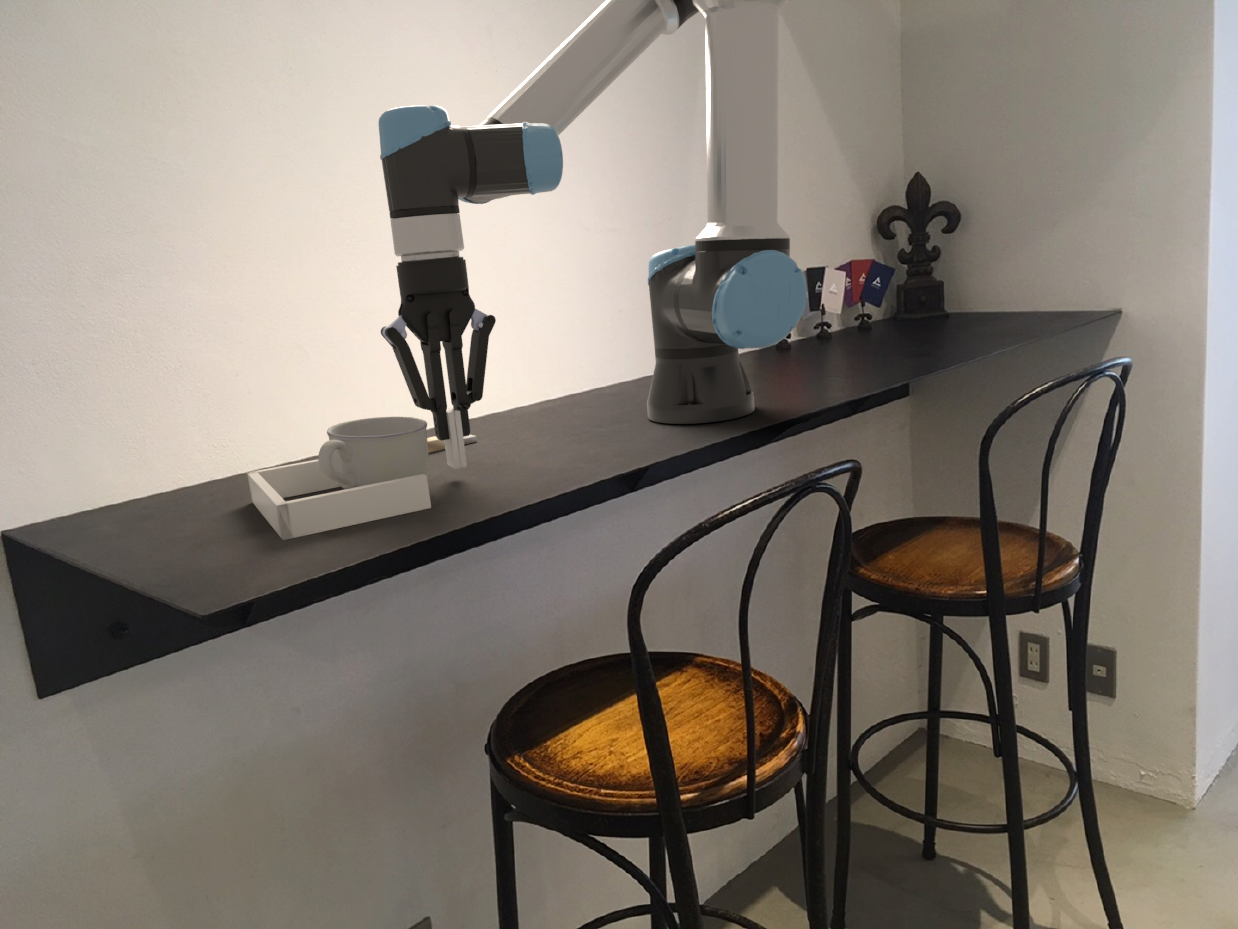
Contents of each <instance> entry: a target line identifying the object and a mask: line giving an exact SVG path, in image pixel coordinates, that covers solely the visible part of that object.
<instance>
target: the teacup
mask: <svg viewBox="0 0 1238 929" xmlns="http://www.w3.org/2000/svg"><path fill="white" fill-rule="evenodd" d="M427 427H428V422H427V421H426V420H424V419H422V418H417V417H413V416H379V417H368V418H361V419H359V418H358V419H354V420H349V421H344V422H340V423H337V424H334V425H332V426H330V427H329V428H327V430H326V435H327V436H328V440H327V441H325V442H324V443H323V444H322V445H321V446H320V449H319V452H318V455H317V456H318V458H317V459H318V462H319V466H320V469H321V470H322V472H323V473H324V474H325V475H326V476H327V477H329V478H330V479H332V480H334V481H337V482H338V484H339V485H340V486H341V488H342V490H345V489H350V488H355V487H360V486H365V485H370V484H375V483H380V482H385V481H390V480H395V479H400V478H405V477H410V476H415V475H420V474H425V475H427V474H428V470H429V453H428V442H427V438H428V434H427Z"/></svg>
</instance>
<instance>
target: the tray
mask: <svg viewBox="0 0 1238 929" xmlns="http://www.w3.org/2000/svg"><path fill="white" fill-rule="evenodd" d="M246 476H247V480H248V485H249V486H248V487H249V492H250V498H251V503H252V504H253V505H254V506H255V507H256V509H257V510H258V511H259V513H260V514H261V515H262V516H263V518H265V520H266V521H267V522H268V524H269V525H270V526H271V527H272V528H273V530H274V531H275V532H276V533H277V535H278V536H279V537H280V539H281V540H282V541H285V540H291V539H294V538H300V537H305V536H308V535H313V534H319V533H322V532H327V531H333V530H336V529H340V528H346V527H350V526H354V525H360V524H364V523H368V522H369V523H370V522H372V521H373V522H374V521H377V520H382V519H383V520H384V519H387V518H392V517H395V516H396V517H397V516H401V515H404V514H410V513H415V512H419V511H424V510H428V509H431V508H432V503H431V502H432V501H431V496H430V488H429V482H428V476H427V475H425V474H420V475H415V476H410V477H405V478H400V479H395V480H390V481H385V482H380V483H375V484H370V485H365V486H360V487H355V488H350V489H342V490H341V489H340V490H336V491H331V492H327V493H321V494H316V495H312V496H306V497H302V498H296V499H292V500H285V498H286V499H287V498H290V497H295V496H300V495H305V494H311V493H316V492H320V491H325V490H331V489H335V488H340V487H341V486H340V485H339V484H338V482H337V481H334V480H332V479H330V478H329V477H327V476H326V475H325V474H324V473H323V472H322V470H321V469H320V466H319V462H318V458H317V459H313V460H308V461H307V460H306V461H302V462H297V463H290V464H285V465H279V466H274V467H269V468H264V469H259V470H253V471H247V472H246ZM341 488H342V487H341Z"/></svg>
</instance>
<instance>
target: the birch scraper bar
mask: <svg viewBox="0 0 1238 929" xmlns="http://www.w3.org/2000/svg"><path fill="white" fill-rule="evenodd" d="M477 438H478V437H477V435H473V434H470V435H469V436H464V437H463V439H464V446H465V445H468V444H473V443H477V442H478V439H477ZM427 442H428V454H431V453H434V452H439V451H443V450H445V442H444V440H442V441H441V440H439V439H437V437H436V435H435V436H430V437H427Z"/></svg>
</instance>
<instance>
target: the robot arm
mask: <svg viewBox="0 0 1238 929" xmlns="http://www.w3.org/2000/svg"><path fill="white" fill-rule="evenodd" d="M788 2H790V0H605V1H604V2H603V3H602V4H601V5H600V6H599V7H598V8H597V9H596V10H595V11H594V12H593V13H591V15H590V16H589V17H587V19H586V20H585V21H584V22H582V23H581V25H580V26H579V27H578V28H577V29H575V31H573V33H571V34H570V36H568V37H567V38H566V39H565V40H564V41H563V42H562V43H561V44H560V45H559V46H558V47H557V48H556V49H555V50H554V51H553V52H552V53H551V54H550V55H549V56H548V57H547V58H546V59H545V60H544V61H543V62H542V63H541V64H540V65H539V66H538V67H537V68H535V70H533V72H532V73H531V74H529V76H527V77H526V79H525V80H524V81H523V82H521V83H520V84H519V85H518V87H516V88H515V89H514V90H513V91H512V92H511V93H510V94H509V96H507V97H506V98H505V99H504V100H503V101H502V102H501V103H499V105H498V106H497V107H496V108H495V109H494V110H493V111H492V112H491V113H490V114H489V115H488V116H487V117H486V119H484V120H483V121H482V122H481V123H480V124H479V125H472V126H471V125H470V126H465V125H464V126H462V125H461V126H460V125H452V123H451V122H452V121H451V120H450V118H449V113H448V111H447V110H446V109H445V108H444V107H442V106H439V105H427V104H426V105H425V104H421V105H420V104H419V105H418V104H417V105H406V106H399V107H394V108H393V107H392V108H390V109H387V110H386V111H384V112H383V113H382V114H381V115H380V117H379V118H378V133H379V134H378V135H379V146H380V155H379V157H380V161H381V166H382V172H383V180H384V186H385V192H386V199H387V204H388V205H387V206H388V211H389V218H390V228H391V235H392V236H391V237H392V243H393V249H394V250H393V251H394V255H395V257H401V258H400V259H401V261H400V262H399V261H398V262H397V265H396V274H397V280H398V289H399V295H400V305H399V309H398V311H397V312H398V317H397V318H396V319H395V320H394V321H392V322H391V324H388V325H387V326H383V327H381V329H380V335H381V336H382V337H383V339H384V340H386V342H387V343H388V344H389V345H390V346H391V349H392V351H393V353H394V356H395V358H396V360H397V363H398V365H399V368H400V370H401V372H402V376H403V379H404V382H405V384H406V386H407V389H408V392H409V394H410V397H411V398H412V402H413V404H414V406H415V407H417V408H420V409H421V410H425V411H426V410H427V411H430V412H431V414H432V420H433V426H434V435H435V436H436V437H437V439H439V440H441V441H442V440H444V442H445V449H444V450H445V456H446V464H447V466H449V467H451V468H452V469H454V470H456V469H457V470H458V469H462V468H463V469H464V468H467V467H468V464H467V457H466V449H465V447H466V446H465V445H464V439H463V437H464V436H469V435H471V425H470V419H469V418H470V416H469V409H470V408H471V405H472V404H474V403H475V402H480V401H481V400H482V399H483V396H484V395H483V394H484V386H485V375H486V370H487V368H486V367H487V366H486V365H487V358H488V348H489V341H490V335H491V333H492V330H493V329H494V326H495V324H496V323H497V319H496V317H495V316H494V315H493V314H487V313H484V312H483V311H481V310H479V309H477V308H476V304H475V302H474V300H473V299H472V297H471V295H470V289H469V288H470V286H469V279H468V268H467V261H466V259H464V256H460V252H462V251H463V250H464V249H465V244H464V238H463V229H462V221H461V214H460V205H459V203H460V201H461V202H464V203H467V204H473V205H483V204H487V203H489V202H491V201H494V200H497V199H498V200H499V199H502V198H508V197H511V196H518V195H533V196H534V195H536V194H540V193H548V192H553V191H555V190H556V189H557V188H558V187H559V185H560V183H561V181H562V177H563V172H564V171H563V170H564V155H563V154H564V153H563V148H562V144H561V139H560V137H559V136H560V135H561V134H562V132H564V131H565V129H567V128H568V127H569V126H570V125H571V124H572V123H573V122H574V121H575V120H576V119H577V118H578V117H579V116H580V115H581V114H582V113H583V112H584V111H585V110H586V109H587V108H588V107H589V106H590V105H591V104H592V103H593V102H594V101H595V100H596V99H598V97H599V96H600V95H602V94H603V92H604V91H605V90H606V89H607V88H609V87H610V85H612V83H614V82H615V80H616V79H617V78H618V77H619V76H621V75H622V74H623V73H624V72H625V70H626V69H627V68H629V66H631V64H632V63H634V61H636V60H637V58H639V57H640V56H641V55H642V54H643V53H644V52H645V51H646V50H647V49H648V48H649V47H650V46H651V45H652V44H653V43H654V42H655V41H656V40H657V39H658V38H659V37H660V36H661V35H667V36H670V35H673V34H675V32H677V30H679V28H680V27H681V26H682V25H683V24H685V23H686V21H688V20H689V19H691V18H692V17H694V16H695V15H697V14H698V13H699V12H700V13H701V15H703V17H704V19H705V21H704V22H705V88H706V89H705V103H706V107H705V108H706V111H705V113H706V194H707V195H706V198H707V200H706V202H707V206H706V207H707V208H706V209H707V210H706V211H707V212H706V214H707V221H706V226H705V227H704V228H703V229H702V231H701V232H700V233H699V234H698V235H697V236H696V237H695V242H694V244H688V245H684V246H680V247H674V248H669V249H665V250H661V251H659V252H656V253H654V254H653V255H652V256H650V259H649V261H648V277H647V285H648V287H649V288H648V289H649V290H648V291H649V301H650V311H651V312H650V313H651V322H652V332H653V333H652V335H653V344H654V356H655V365H654V370H653V374H652V378H651V382H650V383H651V384H650V388H649V392H648V397H647V400H646V410H647V418H648V420H650V421H652V422H655V423H660V424H672V425H673V424H674V425H675V424H676V425H689V424H690V425H692V424H693V425H694V424H705V423H706V424H707V423H714V422H717V423H718V422H723V421H730V420H734V419H738V418H742V417H744V416H748V415H750V414H752V413H753V412H754V411H755V408H756V407H755V396H754V392H753V390H752V388H751V385H750V382H749V380H748V376H747V374H746V372H745V371H746V370H745V369H744V366H743V365H742V362H741V357H740V356H739V355H740V354H739V350H744V349H761V348H762V349H763V348H767V347H770V346H771V347H772V346H773V345H776V344H778V343H780V342H781V341H783V340H784V339H785V338H787V336H788V335H789V334H790V333H791V332H792V331H793V330H794V329H795V328H796V326H797V325H798V323H800V320H801V318H802V316H803V314H804V311H805V309H806V305H807V297H808V289H807V288H808V286H807V283H806V277H805V275H804V273H803V270H802V269H800V268H799V266H798V265H797V262H796V261H795V260H794V259H793V258H791V256H790V255H791V253H790V252H791V249H790V248H791V246H790V243H791V242H790V241H791V238H790V234H789V233H788V232H787V231H785V229H784V228H783V227H782V226H781V225H780V223H779V222H778V221H779V220H778V197H779V196H778V195H779V194H778V190H779V189H778V187H779V186H778V184H779V183H778V178H779V177H778V176H779V175H778V172H779V170H778V166H779V163H778V162H779V157H778V156H779V153H778V152H779V150H778V149H779V147H778V146H779V142H778V140H779V15H780V12H781V11H782V9H783V8H784V7H785V6H786V5H787V4H788ZM470 321H471V322H470ZM469 323H470V328H472V332H471V337H470V346H469V354H468V355H469V357H468V365H467V374H466V373H465V364H464V356H463V347H464V345H463V335H464V332H465V331H466V329H467V327H468V325H469ZM406 328H408V330H409V331H410V332H411V333H412V334H413V335H414V336H415V337H416V338H417V339H418V341H420V342H419V343H420V344H419V345H420V348H421V351H422V354H423V362H424V369H425V370H424V371H425V376H426V377H425V379H426V385H427V389H426V386H425V384H424V381H423V379H422V376H421V374H420V371H419V368H418V366H417V363H416V360H415V358H414V354H413V352H412V350H411V348H410V345H409V343H408V342H407V340H406V339H407V337H408V333H407V331H406ZM441 345H442V346H441ZM442 348H443V349H444V356H445V364H446V372H447V378H448V388H449V394H450V403H451V405H452V407H450V408H448V402H447V395H446V394H447V393H446V386H445V381H444V380H445V379H444V372H443V365H442V356H441V355H442V354H441V351H442Z"/></svg>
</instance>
